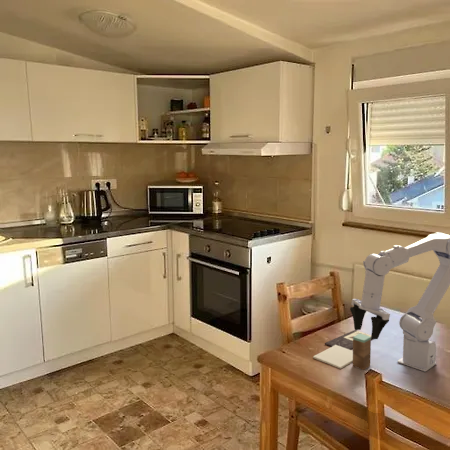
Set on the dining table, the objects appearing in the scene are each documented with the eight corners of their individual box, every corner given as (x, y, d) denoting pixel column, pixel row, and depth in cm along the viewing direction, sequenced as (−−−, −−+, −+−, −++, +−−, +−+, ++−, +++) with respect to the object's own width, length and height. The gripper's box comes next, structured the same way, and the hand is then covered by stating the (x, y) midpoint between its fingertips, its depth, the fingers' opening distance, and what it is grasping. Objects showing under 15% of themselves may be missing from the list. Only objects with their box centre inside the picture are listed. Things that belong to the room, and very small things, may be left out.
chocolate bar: (324, 343, 166) (355, 329, 176) (324, 345, 166) (355, 332, 177) (345, 351, 159) (375, 336, 169) (345, 353, 159) (375, 339, 170)
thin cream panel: (362, 356, 155) (362, 354, 155) (340, 368, 147) (340, 367, 147) (335, 346, 164) (335, 344, 164) (313, 358, 155) (313, 356, 155)
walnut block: (370, 365, 148) (370, 336, 147) (363, 370, 146) (364, 340, 144) (359, 361, 151) (359, 333, 150) (352, 365, 149) (353, 336, 147)
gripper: (346, 286, 147) (340, 326, 148) (380, 300, 134) (373, 344, 136) (363, 285, 150) (357, 325, 152) (397, 299, 137) (390, 342, 139)
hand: (365, 334), depth 144 cm, fingers open, 7 cm apart
